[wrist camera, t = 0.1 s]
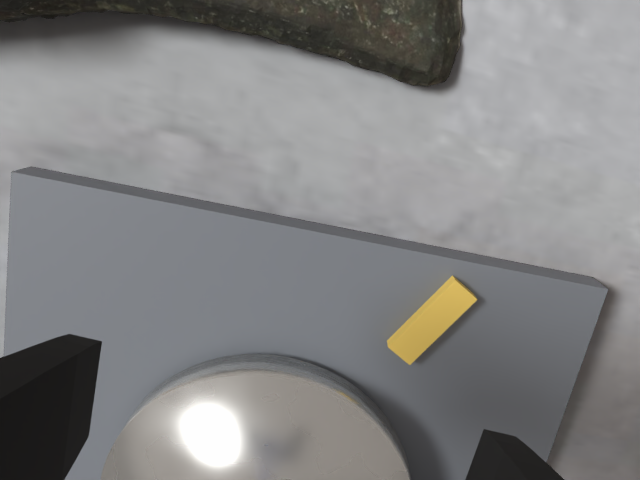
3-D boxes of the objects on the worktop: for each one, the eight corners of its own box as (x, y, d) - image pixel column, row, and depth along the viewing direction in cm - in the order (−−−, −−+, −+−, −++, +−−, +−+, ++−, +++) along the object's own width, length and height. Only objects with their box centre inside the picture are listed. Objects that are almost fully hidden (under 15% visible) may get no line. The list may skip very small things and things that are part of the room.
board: (462, 692, 25) (470, 735, 23) (8, 608, 25) (-15, 645, 23) (609, 280, 20) (633, 298, 18) (30, 166, 19) (2, 174, 18)
